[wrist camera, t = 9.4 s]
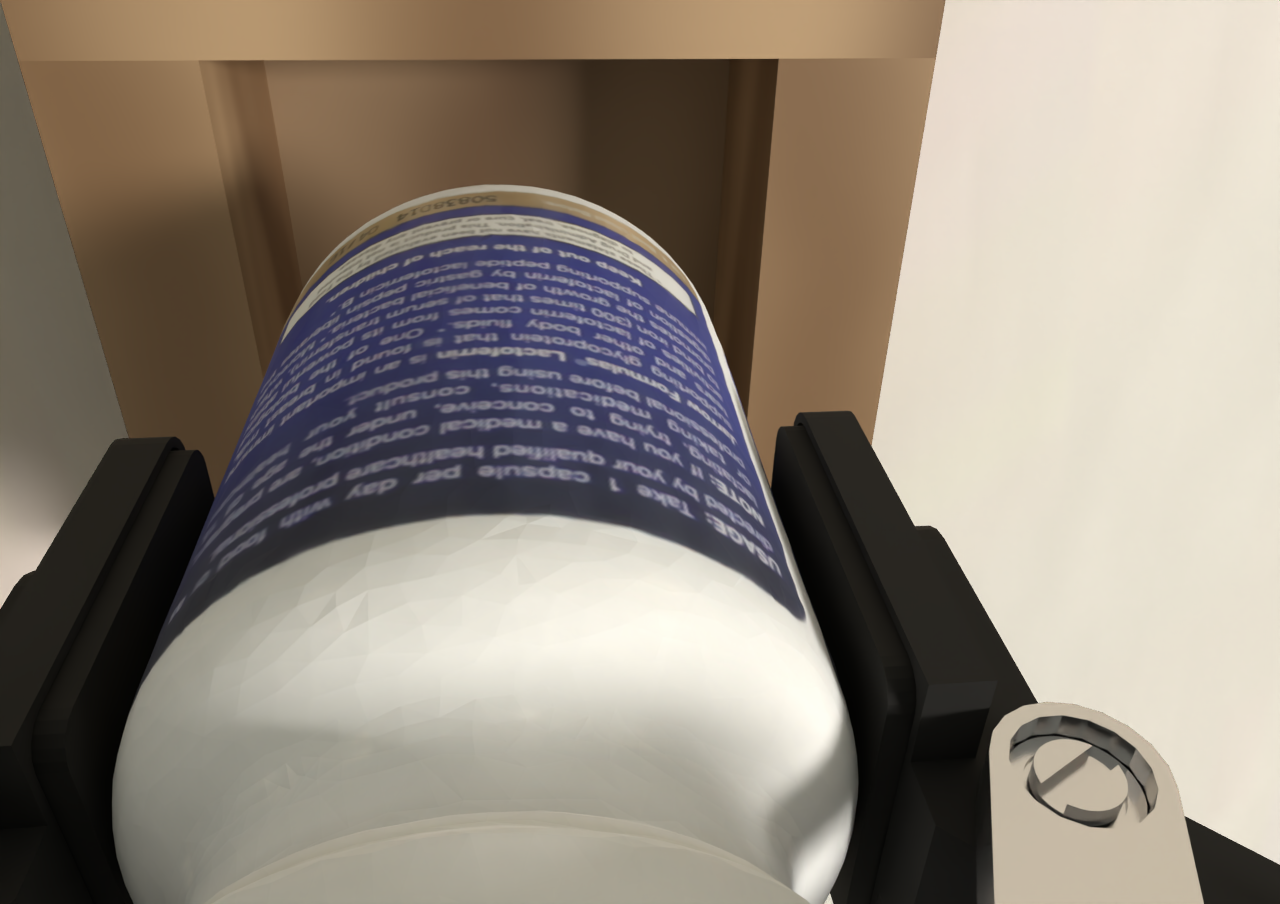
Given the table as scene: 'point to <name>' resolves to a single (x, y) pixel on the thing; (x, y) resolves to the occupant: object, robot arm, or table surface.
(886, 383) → the table surface
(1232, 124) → the table surface
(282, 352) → the pill bottle
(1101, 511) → the table surface
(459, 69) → the brown wooden open box
